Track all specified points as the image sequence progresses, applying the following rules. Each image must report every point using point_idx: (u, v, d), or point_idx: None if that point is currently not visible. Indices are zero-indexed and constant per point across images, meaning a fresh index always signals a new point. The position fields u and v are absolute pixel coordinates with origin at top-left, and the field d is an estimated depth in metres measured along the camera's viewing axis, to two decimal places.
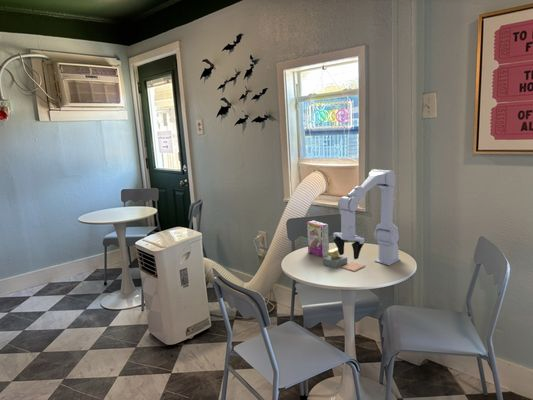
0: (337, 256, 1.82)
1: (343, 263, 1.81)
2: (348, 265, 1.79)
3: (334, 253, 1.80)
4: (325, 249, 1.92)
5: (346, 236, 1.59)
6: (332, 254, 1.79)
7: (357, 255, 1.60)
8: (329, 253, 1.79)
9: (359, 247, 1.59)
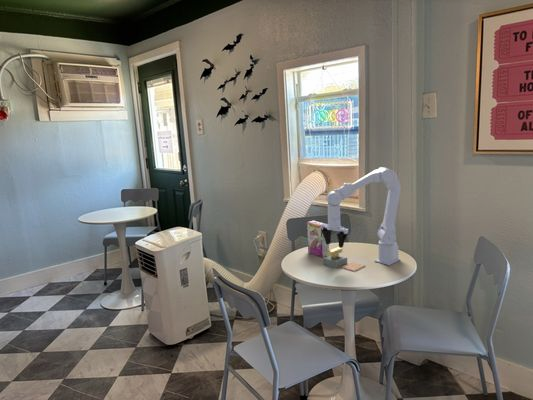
0: (337, 256, 1.82)
1: (343, 263, 1.81)
2: (348, 265, 1.79)
3: (334, 253, 1.80)
4: (325, 249, 1.92)
5: (332, 227, 1.77)
6: (332, 254, 1.79)
7: (341, 244, 1.78)
8: (329, 253, 1.79)
9: (343, 237, 1.77)
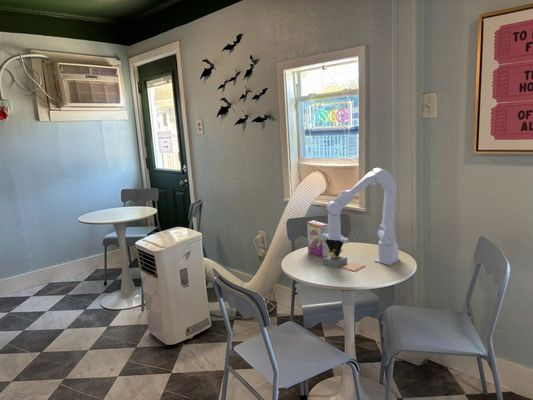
0: (337, 256, 1.82)
1: (343, 263, 1.81)
2: (348, 265, 1.79)
3: (334, 253, 1.80)
4: (325, 249, 1.92)
5: (332, 236, 1.78)
6: (332, 254, 1.79)
7: (338, 252, 1.80)
8: (329, 253, 1.79)
9: (340, 245, 1.80)
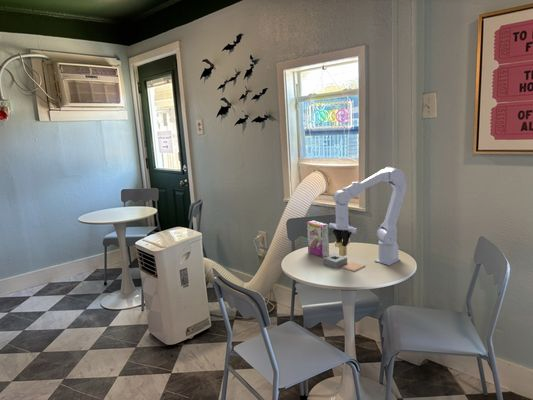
0: (345, 247, 1.78)
1: (343, 263, 1.81)
2: (348, 265, 1.79)
3: (341, 244, 1.76)
4: (325, 249, 1.92)
5: (340, 226, 1.74)
6: (340, 245, 1.76)
7: (346, 242, 1.77)
8: (337, 244, 1.76)
9: (348, 235, 1.77)
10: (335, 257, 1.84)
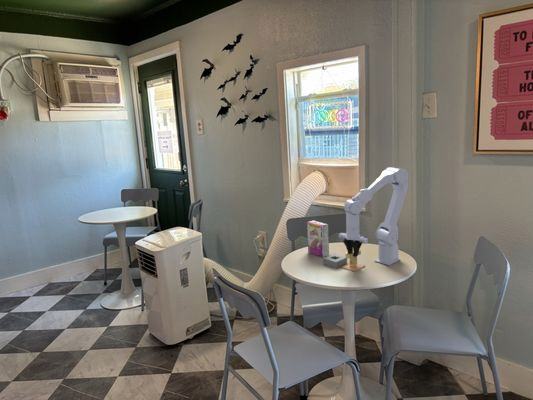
0: (355, 258, 1.76)
1: (343, 263, 1.81)
2: (348, 265, 1.79)
3: (352, 255, 1.74)
4: (325, 249, 1.92)
5: (351, 236, 1.72)
6: (351, 256, 1.73)
7: (356, 252, 1.75)
8: (347, 255, 1.74)
9: (358, 245, 1.74)
10: (335, 257, 1.84)
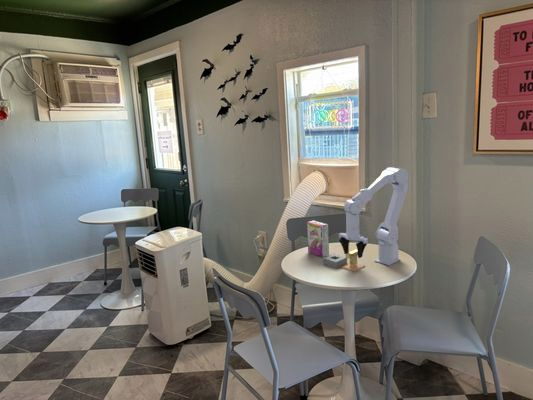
0: (355, 258, 1.76)
1: (343, 263, 1.81)
2: (348, 265, 1.79)
3: (352, 255, 1.74)
4: (325, 249, 1.92)
5: (351, 236, 1.72)
6: (351, 256, 1.73)
7: (361, 254, 1.73)
8: (347, 255, 1.74)
9: (363, 247, 1.73)
10: (335, 257, 1.84)
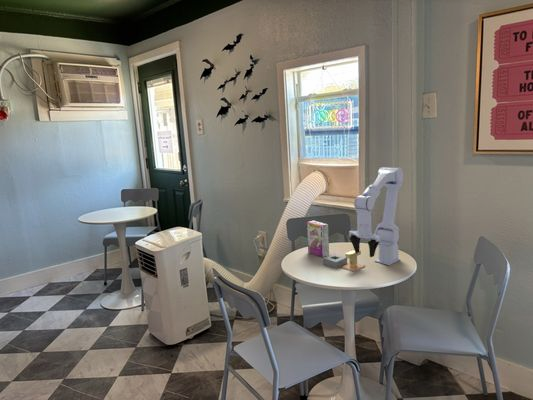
0: (355, 258, 1.76)
1: (343, 263, 1.81)
2: (348, 265, 1.79)
3: (352, 255, 1.74)
4: (325, 249, 1.92)
5: (362, 234, 1.62)
6: (351, 256, 1.73)
7: (373, 252, 1.63)
8: (347, 255, 1.74)
9: (375, 245, 1.63)
10: (335, 257, 1.84)
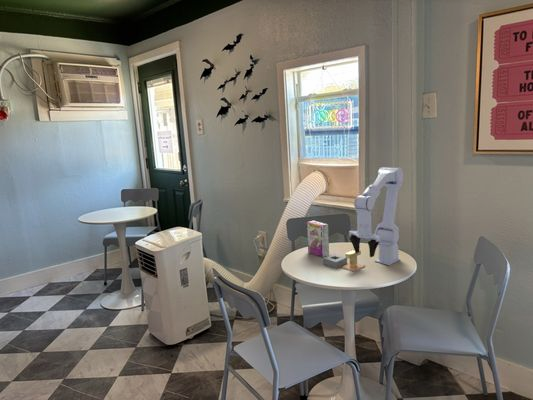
0: (355, 258, 1.76)
1: (343, 263, 1.81)
2: (348, 265, 1.79)
3: (352, 255, 1.74)
4: (325, 249, 1.92)
5: (362, 234, 1.62)
6: (351, 256, 1.73)
7: (373, 252, 1.63)
8: (347, 255, 1.74)
9: (375, 245, 1.63)
10: (335, 257, 1.84)
